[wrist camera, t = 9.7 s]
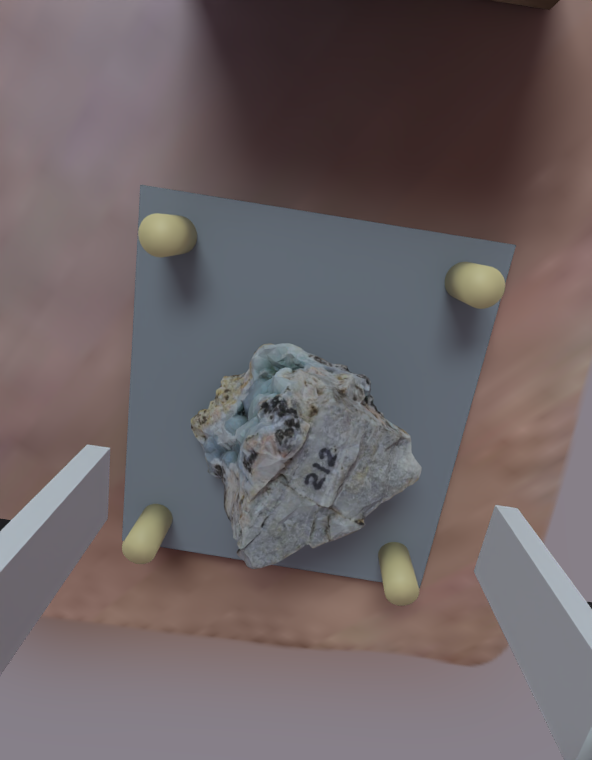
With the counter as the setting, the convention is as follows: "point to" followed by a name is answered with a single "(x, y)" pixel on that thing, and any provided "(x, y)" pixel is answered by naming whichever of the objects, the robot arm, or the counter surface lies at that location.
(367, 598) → the counter surface
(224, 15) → the counter surface
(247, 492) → the mineral specimen
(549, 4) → the panel
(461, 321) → the base
